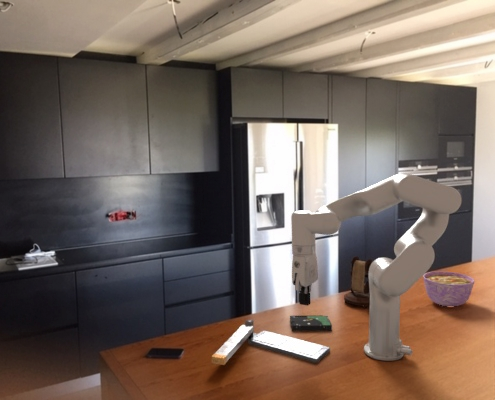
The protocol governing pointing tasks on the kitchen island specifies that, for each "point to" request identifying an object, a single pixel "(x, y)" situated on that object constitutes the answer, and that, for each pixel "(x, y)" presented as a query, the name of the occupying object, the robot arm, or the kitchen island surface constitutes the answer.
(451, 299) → the bowl of food
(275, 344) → the label panel
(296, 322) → the disk drive
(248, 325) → the swing bar
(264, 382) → the kitchen island surface
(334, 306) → the kitchen island surface
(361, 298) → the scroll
